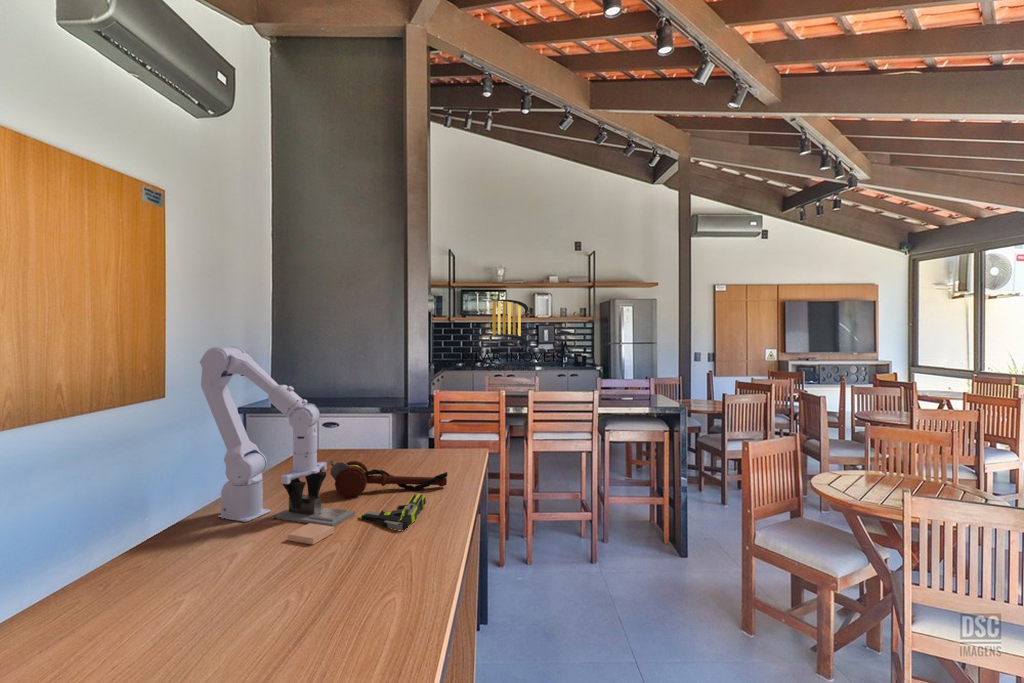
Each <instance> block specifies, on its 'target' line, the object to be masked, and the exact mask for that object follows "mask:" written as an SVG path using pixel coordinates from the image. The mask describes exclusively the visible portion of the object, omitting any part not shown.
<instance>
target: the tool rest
mask: <svg viewBox="0 0 1024 683" xmlns="http://www.w3.org/2000/svg"><path fill="white" fill-rule="evenodd" d="M324 508H326V507H323V506H321V510H322V509H324ZM338 509H339V508H338ZM339 510H341V509H339ZM347 511H348V513H347V514H345V515H344V516H342V517H340V518H338V519H336V520H334V521H328V520H321V519H314V518H310V515H307V514H300V513H293V512H289V508H286V509H285V510H282V511H280V512H278V513H275V514H273V518H272V519H274V518H277V519H276V520H280V519H283V520H282V521H287V520H291V521H290V522H294V521H297V522H296V523H300V522H303V523H302V524H307V523H308V524H309V523H312V524H319V525H325V526H332V527H334V528H335V527H336V526H337V525H339V524H341V523H342V522H345V521H346V520H348V519H350V518H352V517H353V516H355V515H356V511H353V510H347Z"/></svg>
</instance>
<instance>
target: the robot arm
mask: <svg viewBox="0 0 1024 683" xmlns="http://www.w3.org/2000/svg"><path fill="white" fill-rule="evenodd" d="M199 365H200V367H201V379H200V386H201V389H202V391H203V394H204V396H205V400H206V402H207V404H208V406H209V410H210V412H211V414H212V416H213V419H214V421H215V424H216V426H217V429H218V431H219V433H220V437H221V439H222V441H223V443H224V446H225V448H226V451H225V452H226V453H225V455H224V458H223V461H224V464H225V477H226V479H227V480H228V481H226V482H225V483H224V484H223V486H222V488H221V493H220V514H218V515H217V517H221V518H220V519H224V518H225V520H231V521H238V522H244V523H246V522H250V521H253V520H254V519H257V518H259V517H262V516H264V515H266V514H268V513H270V512H271V509H267V508H263V506H264V504H263V503H264V502H263V500H264V499H263V495H264V494H263V489H264V488H263V487H264V486H263V484H264V482H263V473H264V471H265V470H266V468H267V466H268V461H267V457H266V456H265V454H264V453H262V452H261V451H260V449H259V448H258V445H256V444H255V443H253V442H252V441H251V440H250V438H249V436H248V434H247V431H246V429H245V425H244V424H243V421H242V419H241V416H240V414H239V412H238V409H237V407H236V404H235V401H234V399H233V397H232V394H231V391H230V389H229V387H228V385H229V383H230V381H231V380H232V378H233V376H234V375H241V376H243V377H245V378H247V379H248V380H249V381H251V382H252V384H254V385H256V386H257V387H258V388H259V389H261V390H262V391H263V392H265V393H266V394H267V396H268V398H267V399H268V402H269V403H270V404H271V405H273V406H274V407H275V409H277V410H278V411H280V413H281V414H283V415H284V416H285V417H287V418H288V424H289V425H290V426H291V428H292V469H291V470H289V471H288V472H287V473H285V474H282V475H281V476H280V484H282V486H283V487H284V489H285V490H286V492H287V493H288V494H287V495H288V498H289V497H290V500H291V503H292V507H293V508H297V509H299V508H301V505H302V494H303V493H304V488H305V486H307V495H311V496H319V495H320V491H321V490H320V489H321V487H322V484H323V482H324V480H325V479H326V477H327V472H325V471H326V470H327V469H328V466H327V465H328V464H327V463H328V462H326V461H319V462H318V456H317V455H318V433H317V432H318V431H317V430H318V429H317V422H319V420H320V418H321V413H320V409H319V408H318V407H317V405H316V404H314V403H308V402H309V401H308V400H307V399H306V398H305V399H303V398H302V397H301V396H299V394H297V392H295V391H294V390H295V388H294V387H293V386H292V385H289V386H288V385H287V384H278V383H277V381H275V379H273V378H272V377H271V376H270V375H269V374H268V373H267V372H266V371H265V370H264V369H263V368H262V367H261V366H260V365H259V364H258V363H257V362H255V360H254V359H253V358H252V356H251V355H250V354H249V353H247V352H245V351H244V350H243V349H242V348H240V347H239V346H228V347H225V346H224V347H218V346H217V347H216V346H215V347H211V348H208V349H207V350H206V351H205V352H204V354H203V355H202V357H201V358H200V361H199ZM302 478H305V481H301V480H300V479H302ZM303 495H304V494H303Z"/></svg>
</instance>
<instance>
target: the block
mask: <svg viewBox="0 0 1024 683" xmlns="http://www.w3.org/2000/svg"><path fill="white" fill-rule="evenodd" d="M334 532H335V526H334V527H332V526H325V525H319V524H312V523H309V524H307V523H306V524H305V525H302V526H300V527H299V528H297V529H295V530H294V531H291V532H290V533H288V534H287V541H290V542H294V543H295V542H296V543H302V544H308V545H315V544H317V543H318V542H320V541H322V540H324V539H325V538H327V537H330V536H331V535H333V534H334Z"/></svg>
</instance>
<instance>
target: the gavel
mask: <svg viewBox="0 0 1024 683" xmlns="http://www.w3.org/2000/svg"><path fill="white" fill-rule="evenodd" d="M328 463H329V464H330V465H331V468H330V470H329V471H330V475H331V477H332V478H333V480H334V486H335V490H336V491H337V493H338V494H339V495H340V496H342V497H343V498H349V499H351V498H356V497H358V496H360V495H361V494H362V493H363V492H364V491H365V489H366V488H367V485H368V484H371V485H372V484H374V485H375V484H376V485H381V486H382V487H385V486H386V485H397V486H398V487H399V488H401V489H402V488H403V489H404V490H406V489H408V490H407V491H420V490H424V488H427V487H430V486H439V487H445V486H447V482H448V479H447V477H448V471H445V472H443V473H440V474H438V475H435V476H433V477H430V476H426V477H425V476H398V475H397V476H396V475H392V474H390V473H388V472H386V471H385V470H381V469H371V470H368V467H367V466H366V465H365V464H363V463H362V462H361V461H358V460H351V461H348V462H346V463H345V462H343V461H340V462H339V461H337V462H336V463H334V458H333V459H332V460H329V462H328ZM414 485H415V486H414ZM350 497H351V498H350Z"/></svg>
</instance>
